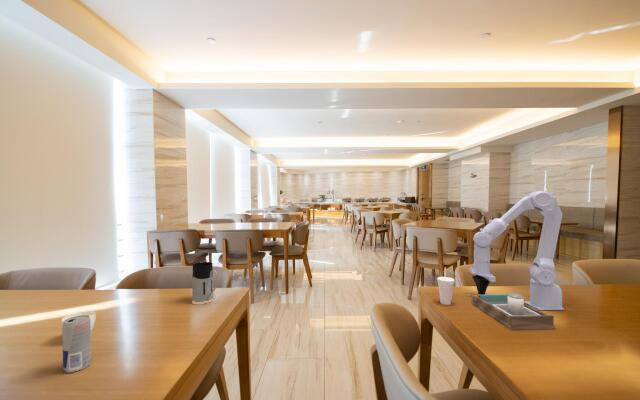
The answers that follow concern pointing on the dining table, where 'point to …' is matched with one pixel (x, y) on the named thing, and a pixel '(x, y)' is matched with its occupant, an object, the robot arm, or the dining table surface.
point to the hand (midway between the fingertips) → (481, 294)
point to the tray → (503, 303)
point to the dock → (515, 317)
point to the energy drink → (76, 343)
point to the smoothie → (445, 289)
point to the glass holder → (203, 281)
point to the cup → (89, 313)
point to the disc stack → (515, 304)
